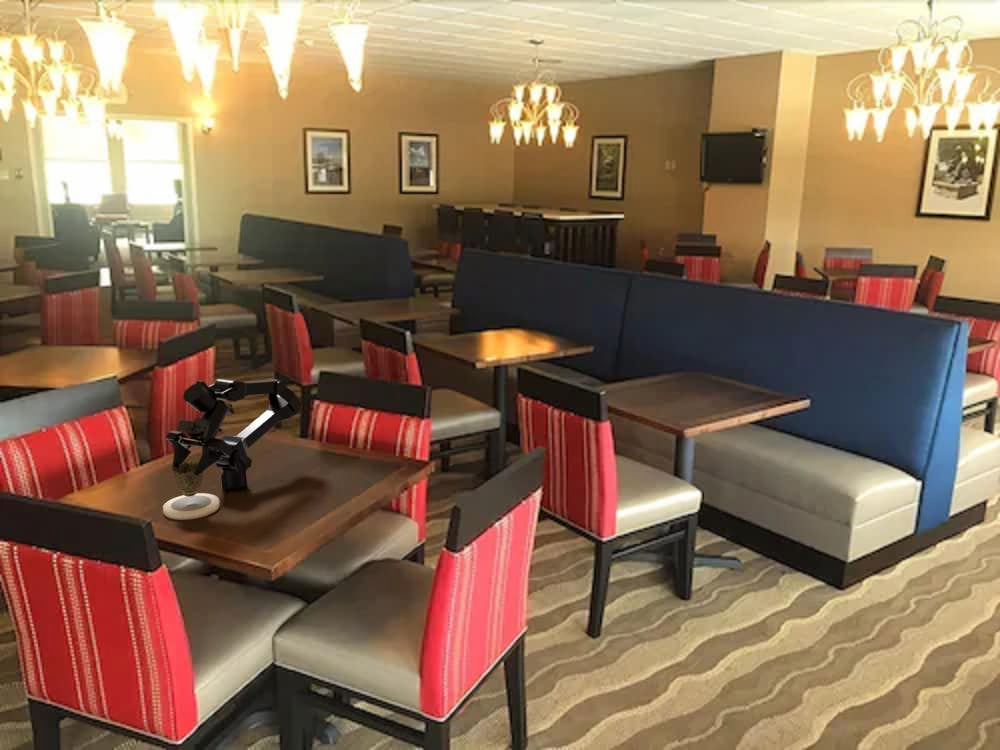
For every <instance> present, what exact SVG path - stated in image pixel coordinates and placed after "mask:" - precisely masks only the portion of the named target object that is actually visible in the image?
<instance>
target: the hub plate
mask: <svg viewBox="0 0 1000 750" xmlns="http://www.w3.org/2000/svg"><path fill="white" fill-rule="evenodd" d="M218 509H220V499H219V497H218V496H217V495H214V494H211V493H206V492H205V493H203V492H201V493H198V492H197V494H196V495H194V496H190V497H188V496H184V495H183V494H182V495H180V496H177V497H173V498H171V499H170V500H168V501H166V502H165V503H164V504H163V505H162V513H163V515H164V516H165V517H166V518H168V519H171V520H179V521H180V520H182V521H183V520H184V521H185V520H186V521H187V520H194V519H199V518H204V517H207V516H208V515H209V516H210V515H211V514H213V513H215V512H216V511H218Z"/></svg>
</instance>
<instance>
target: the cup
mask: <svg viewBox="0 0 1000 750" xmlns="http://www.w3.org/2000/svg"><path fill="white" fill-rule="evenodd" d="M198 463H199V462H197V461H195V463H194V462H192V461H191V462H190V463H189V462H187V461H184V462H183V463H182V464H179V468H175V466H174V467H173V470H172V471H173V477H174V480H175V485H176V486H177V488H178V489H179V491H182V496H183V495H184V496H188V497H190V496H194V495H196V494H197V493H198V489H199V488H200V487H201V485H202V482H203V473H204V471H203V472H201V473H200V474H199V475H198V476H196V475H194V472H195V469H196V467H197V465H198Z"/></svg>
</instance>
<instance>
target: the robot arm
mask: <svg viewBox="0 0 1000 750" xmlns="http://www.w3.org/2000/svg"><path fill="white" fill-rule="evenodd" d="M265 394H266V395H267V400H268V401H269V403H268V408H267V410H266V411H264V412H263V413H262V414H261V415H260V416H259V417H257V418H256V419H255V420H253V422H251V423H250V424H249V425H248V426H247V427H245V428H244V429H243V430H242V431H241V432H239V433H238V434H236V435H235V436H234V435H230V434H225V435H224V436H223V437H222V438H216V436H217V435H218V434H222V432H223V429H222V428H221V427H222V424H223V423H224V421H225V419H226V417H227V415H228V414H229V415H234V414H235V410H234V408H233V404H231V403H226V402H225V401H229V402H237V401H241V400H244V399H245V398H246V397H248V396H258V395H265ZM183 401H185V402H186V404H188V405H190V406H191V407H192V408H194V409H195V410H196V412H197V411H198V412H199V413H202V414H201V416H200V417H196V418H195V419H194V420H193V421H190V420H187V419H178V422H177V426H176V431H175V430H171V431H169V432H168V433H167V435H166V437H165V440H167V441H168V442H169V444H170V445H172V447H173V458H172V459H173V461H172V465H171V466H172V468H171V469H172V471H173V467H174V466H175V468H179V464H183V463H184V462H186V459H187V458H188V457H189V455H191V453H192V451H191V450H189V449H190V448H191V447H198V448H201V450H202V451H201V452H202V453H201V457H200V459H199V460H198V462H197V463H198V465H197V467H196V469H195V472H194V475H196V476H198V475H199V474H200V473H201V472H203V473H204V471H206V469H208V468H209V467H210V466H212V465H213V464H215V466H216V468H221V469H222V470H221V471H220V473H219V474H220V475H219V476H220V482H221V483H220V484H221V489H222V490H223V492H224V493H225V494H226V493H234V492H241V491H248V490H249V484H248V477H247V475H248V474H247V470H248V469H250V468H251V467H252V462H253V459H251V457H250V456H248V452H249V449H250V448H251V447H252V446H253V445H254V444H255V443H257V442H258V441H259V440H260V439H261V438H262V437H264V435H266V434H267V433H268V432H269V431H271V429H273V428H274V427H275V426H276V425H277V424H279V423H280V422H282V421H285V420H286V421H287V420H289V419H291V418H294V417H295V416H298V414H299V413H300V412H301V410H302V409H301V408H302V402H301V399H300V397H298V395H297V394H296V393H295V392H293V390H291V389H290V388H288V386H287V385H286V383H285V382H284V381H282V379H276V378H275V379H274V378H268V379H259V380H258V379H257V380H246V381H240V380H233V379H232V380H231V379H227V378H217V379H216V380H215V382H214V383H213V384H210V385H207V383H206V382H205V381H204V380H196V382H195V383H193V384H191V385H189V387H188V388H186V389H185V390H184V392H183ZM183 432H184V433H185V434H184V433H183Z"/></svg>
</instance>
